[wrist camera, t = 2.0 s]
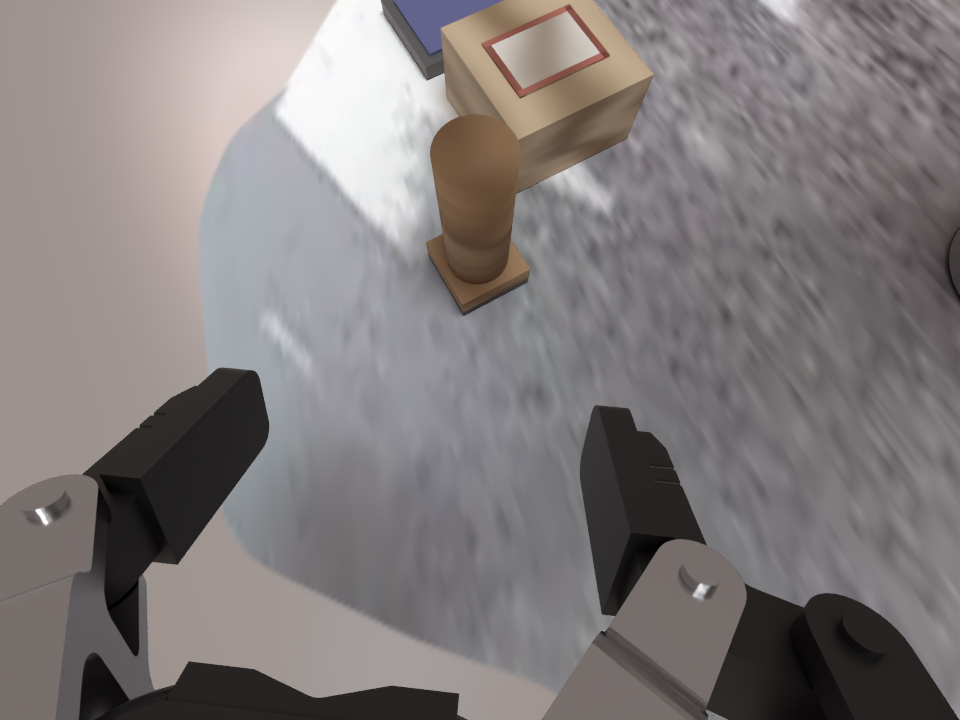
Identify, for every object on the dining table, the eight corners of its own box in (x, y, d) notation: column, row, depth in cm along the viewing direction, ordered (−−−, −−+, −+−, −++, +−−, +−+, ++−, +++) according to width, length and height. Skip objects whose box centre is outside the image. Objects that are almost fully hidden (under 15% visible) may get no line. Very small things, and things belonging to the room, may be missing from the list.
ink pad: (500, -37, 35) (501, -54, 33) (548, 25, 33) (550, 9, 32) (383, 13, 33) (380, -4, 32) (427, 80, 32) (425, 64, 31)
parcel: (556, 47, 32) (570, -31, 28) (626, 138, 30) (654, 72, 26) (446, 97, 31) (440, 26, 26) (511, 195, 29) (517, 138, 24)
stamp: (491, 225, 29) (496, 89, 19) (527, 282, 28) (553, 170, 18) (429, 257, 28) (399, 133, 18) (463, 315, 27) (452, 219, 17)
